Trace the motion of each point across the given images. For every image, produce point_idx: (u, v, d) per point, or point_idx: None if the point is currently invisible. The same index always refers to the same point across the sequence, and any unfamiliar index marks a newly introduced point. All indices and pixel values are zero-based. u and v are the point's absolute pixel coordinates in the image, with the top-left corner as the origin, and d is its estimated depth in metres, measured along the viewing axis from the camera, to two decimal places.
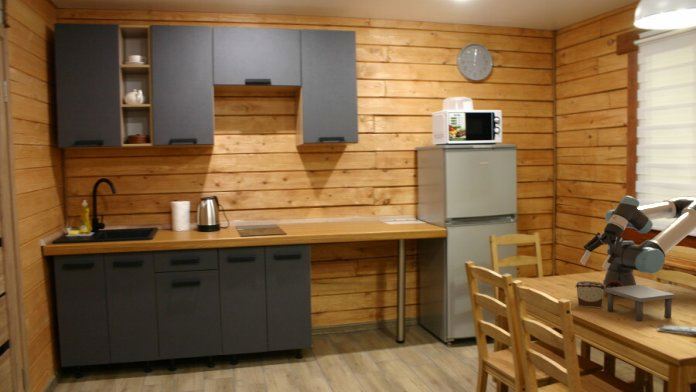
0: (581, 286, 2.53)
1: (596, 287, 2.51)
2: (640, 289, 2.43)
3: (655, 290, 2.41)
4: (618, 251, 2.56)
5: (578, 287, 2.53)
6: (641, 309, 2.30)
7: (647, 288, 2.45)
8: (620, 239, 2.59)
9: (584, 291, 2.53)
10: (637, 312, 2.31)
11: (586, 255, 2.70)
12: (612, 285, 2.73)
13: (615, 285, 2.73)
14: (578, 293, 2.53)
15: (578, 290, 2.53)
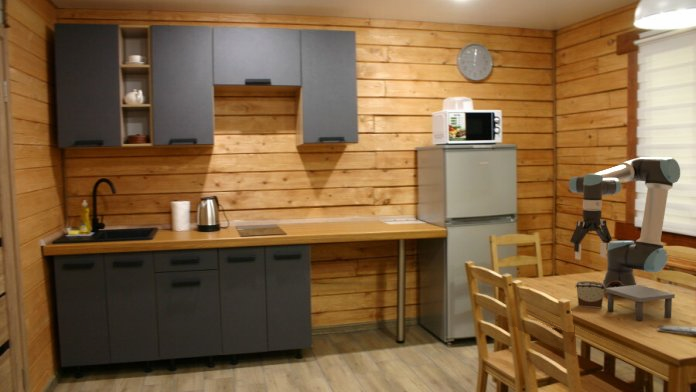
0: (581, 286, 2.53)
1: (596, 287, 2.51)
2: (640, 289, 2.43)
3: (655, 290, 2.41)
4: None
5: (578, 287, 2.53)
6: (641, 309, 2.30)
7: (647, 288, 2.45)
8: None
9: (584, 291, 2.53)
10: (637, 312, 2.31)
11: None
12: (613, 285, 2.73)
13: (616, 285, 2.73)
14: (578, 293, 2.53)
15: (578, 290, 2.53)
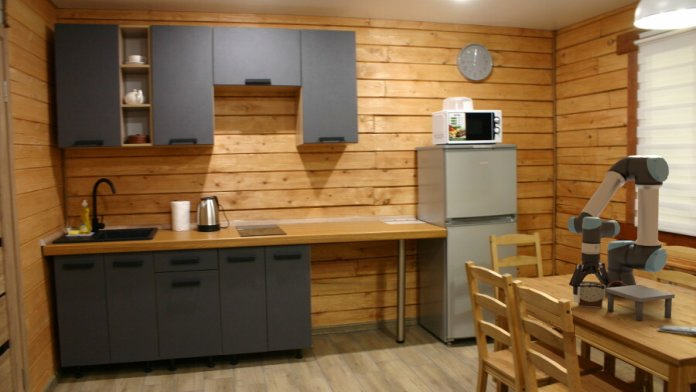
0: (581, 286, 2.53)
1: (596, 287, 2.51)
2: (640, 289, 2.43)
3: (655, 290, 2.41)
4: None
5: None
6: (641, 309, 2.30)
7: (647, 288, 2.45)
8: None
9: (584, 291, 2.53)
10: (637, 312, 2.31)
11: None
12: (615, 285, 2.73)
13: (618, 285, 2.72)
14: None
15: None
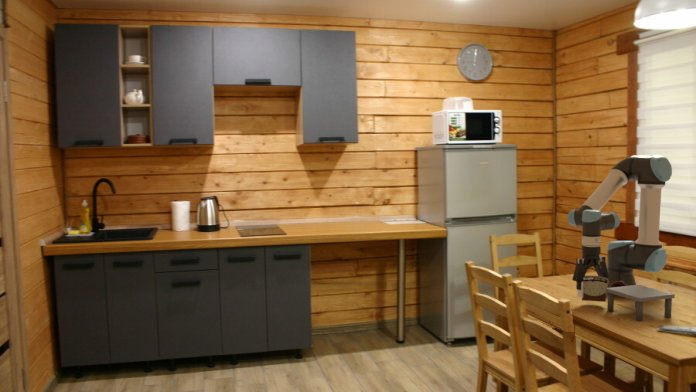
0: (584, 280, 2.53)
1: (599, 282, 2.51)
2: (640, 289, 2.43)
3: (655, 290, 2.41)
4: None
5: None
6: (641, 309, 2.30)
7: (647, 288, 2.45)
8: None
9: (588, 285, 2.53)
10: (637, 312, 2.31)
11: None
12: (616, 285, 2.72)
13: (619, 285, 2.72)
14: None
15: None
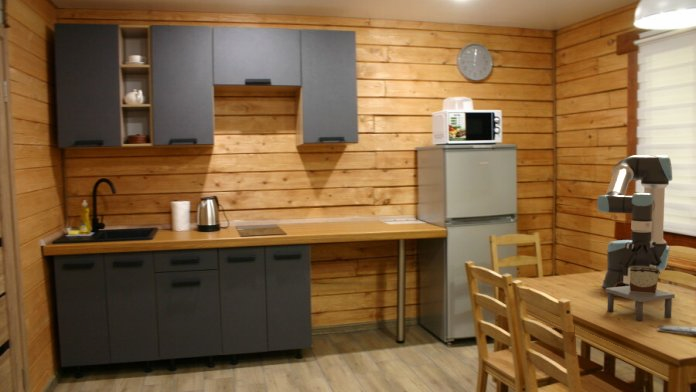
0: (633, 270, 2.39)
1: (649, 272, 2.36)
2: None
3: None
4: None
5: (630, 272, 2.39)
6: (641, 309, 2.30)
7: None
8: None
9: (636, 275, 2.38)
10: (637, 312, 2.31)
11: None
12: (620, 286, 2.72)
13: None
14: (630, 278, 2.39)
15: (630, 275, 2.39)
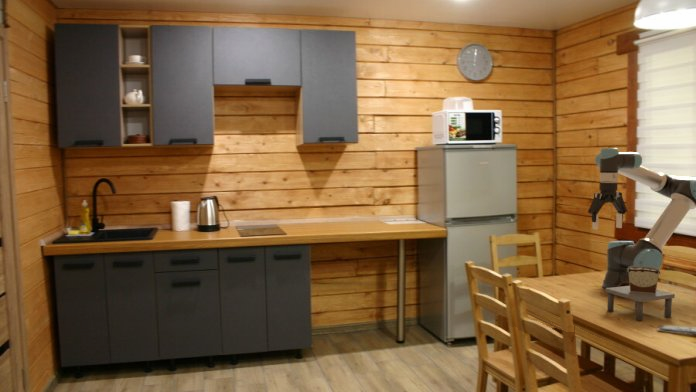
0: (633, 270, 2.39)
1: (649, 272, 2.36)
2: None
3: None
4: None
5: (630, 272, 2.39)
6: (641, 309, 2.30)
7: None
8: None
9: (636, 275, 2.38)
10: (637, 312, 2.31)
11: None
12: None
13: None
14: (630, 278, 2.39)
15: (630, 275, 2.39)
